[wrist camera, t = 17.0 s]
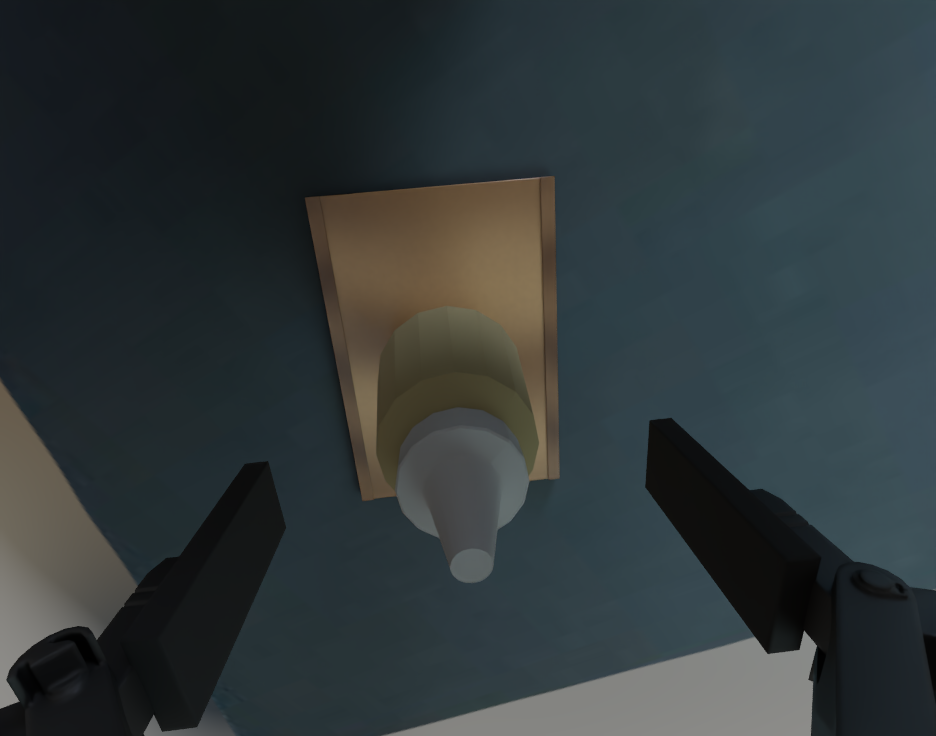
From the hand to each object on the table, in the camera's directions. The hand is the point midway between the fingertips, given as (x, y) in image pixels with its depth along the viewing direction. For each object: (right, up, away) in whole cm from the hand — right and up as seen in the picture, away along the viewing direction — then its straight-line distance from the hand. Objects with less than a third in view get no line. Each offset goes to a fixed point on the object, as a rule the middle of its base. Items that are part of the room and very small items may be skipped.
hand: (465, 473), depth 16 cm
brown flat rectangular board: (-1, +5, +14) cm, 15 cm away
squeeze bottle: (-1, +4, +14) cm, 14 cm away
